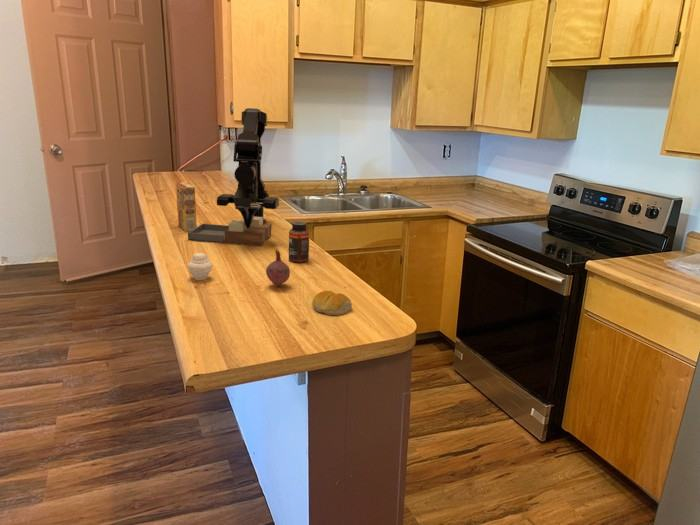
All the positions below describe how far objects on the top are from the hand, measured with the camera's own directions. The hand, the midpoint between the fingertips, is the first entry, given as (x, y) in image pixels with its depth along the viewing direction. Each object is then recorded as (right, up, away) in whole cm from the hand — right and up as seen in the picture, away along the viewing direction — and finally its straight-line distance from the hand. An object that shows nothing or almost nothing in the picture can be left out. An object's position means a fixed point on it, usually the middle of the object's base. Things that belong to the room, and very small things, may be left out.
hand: (248, 227), depth 172 cm
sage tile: (-3, -1, 0) cm, 3 cm away
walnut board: (-1, -3, +5) cm, 6 cm away
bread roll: (+28, -22, -47) cm, 59 cm away
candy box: (-24, +1, +14) cm, 28 cm away
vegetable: (+14, -17, -35) cm, 42 cm away
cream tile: (+1, +1, +7) cm, 7 cm away
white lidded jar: (-6, -15, -33) cm, 37 cm away
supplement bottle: (+17, -11, -14) cm, 25 cm away
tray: (-13, -3, +6) cm, 14 cm away
